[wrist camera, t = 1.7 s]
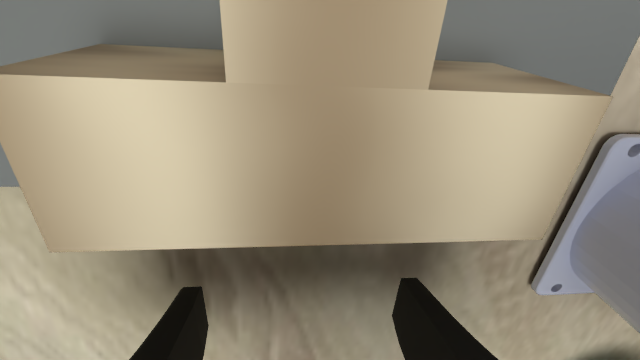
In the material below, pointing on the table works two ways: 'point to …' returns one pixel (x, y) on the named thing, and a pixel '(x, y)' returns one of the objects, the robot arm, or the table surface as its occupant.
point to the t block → (291, 136)
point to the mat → (454, 45)
